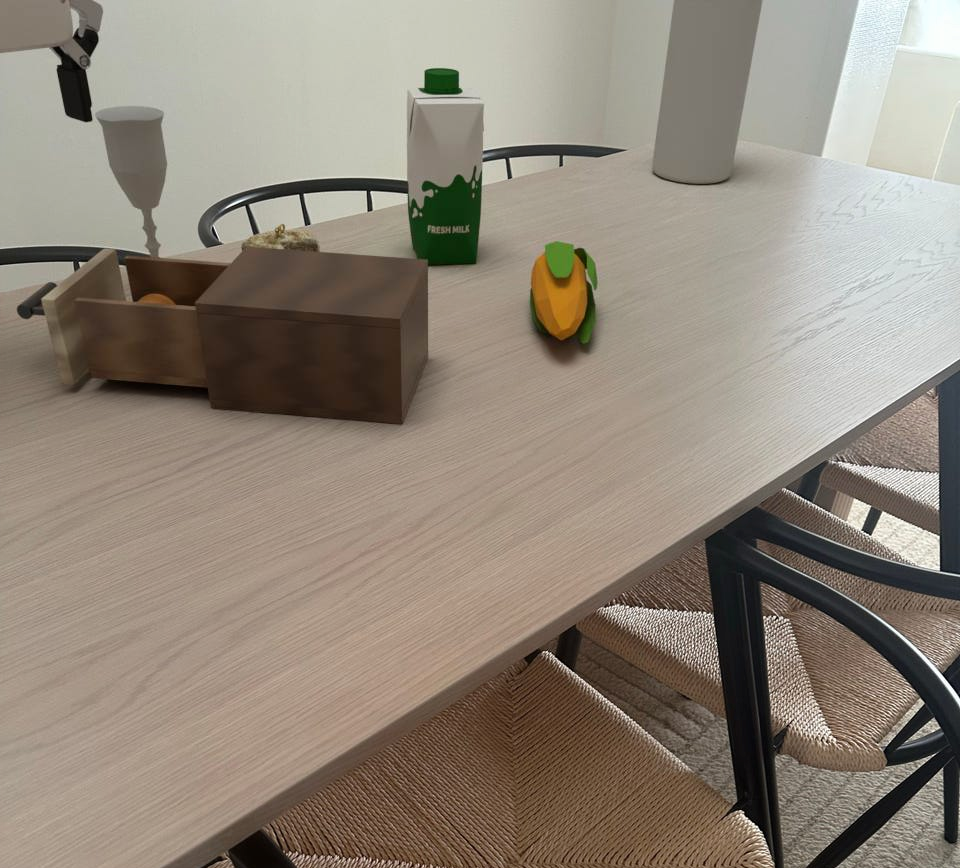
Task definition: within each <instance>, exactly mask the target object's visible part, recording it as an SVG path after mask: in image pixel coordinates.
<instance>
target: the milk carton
mask: <svg viewBox="0 0 960 868" xmlns="http://www.w3.org/2000/svg"><path fill="white" fill-rule="evenodd" d="M423 75H424V78H423V82H424V83H423V87H417V88H407V98H406V176H407V177H406V178H407V179H406V181H407V189H406V190H407V214H408V216H407V217H408V222H409V229H410V231H409V232H410V239H411V246H412V249H413V251H414V253H415V255H416V257H417V259H425V260H428V266H438V265H440V266H443V265H465V264H467V265H468V264H477V260H478V248H479V240H480V239H479V238H480V230H481V229H480V228H481V217H482V216H481V214H482V193H483V192H482V191H483V165H484V164H483V163H484V132H485V130H484V129H485V124H484V114H485V113H484V108H485V103H484V102H483V101H482V99H481V97H480V95H479V94H477V93H476V92H475V91H473V90H472V88H467V87H465V88H461V87H460V72H459V70H457V69H453V68H445V67H433V68H427V69H425V70H424V74H423Z"/></svg>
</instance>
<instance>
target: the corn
mask: <svg viewBox="0 0 960 868" xmlns="http://www.w3.org/2000/svg"><path fill="white" fill-rule="evenodd" d="M532 266H533V267H532V269H531V277H530V290H529V291H530V292H529V307H530V312H531V313H530V314H531V316H532V319H533V321H534V323H535V325H536V327H537V328H538V329H539V330H540V331H541V332H542V333H544V334H550V335H552V336H553V337H555V338H557V339H558V340H559V341H563V340H565V339H567V338H569V337H571V336H573V335H574V334H575V333H576V332H577V335H578V338H579V341H580V342H581V343H582V344H587V343H588V342H589V340H590V338H591V335H592V332H593V329H594V326H595V324H596V302H595V296H594V291H596V290H597V289H598V275H597V268H596V262H595V260H594V259H593V258H592V256H590V254H589V253H588V251H586V249H585V248H583V247H577V248H575V245H574V244H573V243H567V242H562V241H557V240H556V241H552V242H550V243H547V244H544V252H543V253H541V254H540V255H539V256H538V257H537V258H536V259H535V262H534V263H533V265H532ZM587 276H588V277H589V278H588V279H589V280H590V282H591V283H590V282H589V280H588V279H587Z"/></svg>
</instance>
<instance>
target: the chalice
mask: <svg viewBox="0 0 960 868" xmlns="http://www.w3.org/2000/svg"><path fill="white" fill-rule="evenodd" d="M164 116H165V112H164V111H163V110H161V109H159V108H156V107H151V106H143V105H141V106H140V105H122V106H121V105H120V106H113V107H112V106H111V107H106V108H103V109H99V110H98V111H96V112H95V113H94V117H95V118H96V119H97V121H98V123H99V124H100V126H101V129H102V135H103V140H104V145H105V150H106V155H107V161H108V165H109V168H110V170H111V172H112V174H113V176H114V178H115V180H116V182H117V184H118V186H119V187H120V189H121V190H122V191H123V193H124V194H125V196H126V198H127V200H128V201H129V202H130V204H131V205H132V207H134V208H135V209H138V210H141V213H142V217H143V225H142V226H141V227H142V228H141V229H142V230H143V231H144V233H145V235H146V242H145V244H144V248H146V249H147V250H148V253H149V256H150V257H155V258H160V256H159V251H160V250H159V249H160V248H161V246H162V244H161V243H160V242H158V240H157V238H156V233H157V232H156V231H157V229H158V226H157V225H156V224H155V221H154V219H153V209H156V208H157V207H158V206H159V204H160V201H161V197H162V194H163V190H164V186H165V183H166V175H167V169H168V168H167V167H168V159H167V154H166V147H165V141H164V140H165V139H164V135H163V127H162V124H163V123H162V122H163V119H164Z"/></svg>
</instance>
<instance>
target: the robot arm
mask: <svg viewBox="0 0 960 868" xmlns="http://www.w3.org/2000/svg"><path fill="white" fill-rule="evenodd" d="M72 10H73V11H75V12H76V13H77V15H78V16H79V20H78V24H79V26H78V27H77V28H76V29H75V31H74V23H73V17H72V16H73V15H72ZM103 15H104V9H103V6H102V4H100V3H98V2H97V1H95V0H0V54H4V53H5V54H6V53H17V52H24V51H31V50H41V49H47V48H48V49H50V50H51V51H52V52H53V54H54V55H55V56H56V57H57V58H58V59H59V60H60V63H61V64H57V65H56V74H57V80H58V86H59V91H60V94H61V99H62V105H63V110H64V113H65V115H66V116H67V117H68V118H71V119H73V120H77V121H80V122H83V123H91V122H93V121H94V120H93V118H94V117H93V114H92V109H91V108H92V106H93V101H92V97H91V91H90V86H89V80H88V74H87V70H88V69H89V68H90V67H91V65H92V60H91V57H92V55H93V53H94V52H95V50H96V48H97V46H98V44H99V41H100V37H99V32H100V29H101V25H102V19H103Z"/></svg>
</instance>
